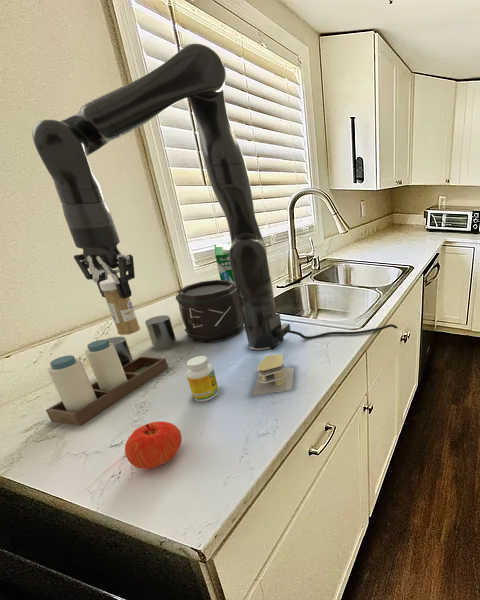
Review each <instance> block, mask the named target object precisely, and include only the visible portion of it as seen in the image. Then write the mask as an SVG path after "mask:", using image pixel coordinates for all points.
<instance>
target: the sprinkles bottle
mask: <svg viewBox="0 0 480 600" xmlns="http://www.w3.org/2000/svg"><path fill="white" fill-rule="evenodd" d="M99 284H100V288H101V290H102V291H103V292H104V295H105V297H104V298H105V300H106V304H107V307H108V309H109V312H110V315H111V318H112V320H113V323H114V324H115V325H114V326H115V327H116V330H117V334H118V335H120V336H128V335H129V336H130V335H132V334H134V333H137V332H139V331H140V330H141V326H140V324H139V322H138V318H137V314H136V311H135V308H134V306H133V303H132V301H131V298H130V297H128V298H125V299H123V298H120V295H119V292H118V290H117V287H116V283H115V281H114V279H113V278H108V279H107V280H104V281H101V282H100V283H99Z"/></svg>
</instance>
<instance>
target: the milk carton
mask: <svg viewBox="0 0 480 600" xmlns="http://www.w3.org/2000/svg"><path fill="white" fill-rule="evenodd" d="M231 245H232V244H231V242H229V243H219V244H218V243H217V244H214V245H213V246H214V247H213V248H214V256H215V260H216V261H215V262H216V266H217V270H218V274H219V278H220V279H219V280H228V281H231V282H232V283H234V285H235V282H234V278H233V273H232V269H231V265H230V259H229V250H230V247H231Z"/></svg>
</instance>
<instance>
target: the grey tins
mask: <svg viewBox="0 0 480 600" xmlns="http://www.w3.org/2000/svg"><path fill="white" fill-rule="evenodd" d="M144 324H145V327H146V329H147V333H148V336H149V339H150V342H151V345H152V348H153V349H154V350H155V351H156V350H157V351H158V350H159V351H160V350H166V349H169V348H172V347H174V346H176V344H177V343H178V341H177V338H176V334H175V331H174V327H173V324H172V320H171V317H170V315H166V314H163V315H157V316H153V317H150V318H148V319H145V321H144ZM104 340H108V342H109V343H113V344H114V346H115V349H116V352H117V354H118V357H119V360H120V362H121V365H122V366H124V365H126V364H128V363H130V362H131V361H133V360H134V358H133V355H132V353H131V350H130V347H129V344H128V342H127V338H126V337H124V336H114V337H113V336H112V337H108V338H105V339H104Z"/></svg>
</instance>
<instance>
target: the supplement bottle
mask: <svg viewBox="0 0 480 600" xmlns="http://www.w3.org/2000/svg"><path fill="white" fill-rule="evenodd" d="M186 364H187V369H188V370H187V371H186V378H187V381H188V384H189V388H190V391H191V395H192V398H193V400H194V401H195V402H199V403H202V402H207V401H209V400H212V399H214V398H215V397H216V396H217V395H218V394H219V391H220V389H219V386H218V381H217V377H216V374H215V370H214V366H213V364H210V363H209V360H208V357H207V356H205V355H199V356H195V357H193V358H190V359H188V361H187V362H186Z"/></svg>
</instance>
